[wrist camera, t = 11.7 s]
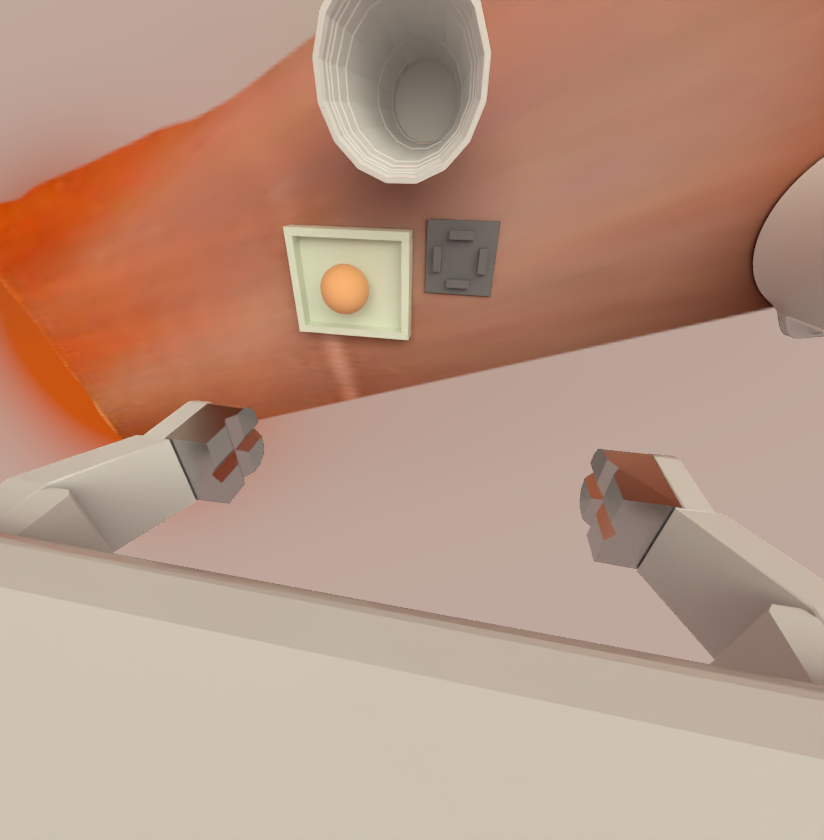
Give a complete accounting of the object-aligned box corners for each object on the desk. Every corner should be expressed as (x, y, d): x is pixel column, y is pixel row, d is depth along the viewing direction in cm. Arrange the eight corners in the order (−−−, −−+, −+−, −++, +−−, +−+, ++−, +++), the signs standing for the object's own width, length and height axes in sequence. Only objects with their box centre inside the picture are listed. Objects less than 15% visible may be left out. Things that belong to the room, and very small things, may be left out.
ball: (374, 261, 39) (357, 271, 35) (376, 308, 42) (360, 323, 37) (330, 257, 40) (308, 267, 36) (335, 304, 42) (315, 318, 38)
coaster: (500, 221, 35) (500, 222, 35) (490, 295, 39) (490, 298, 39) (428, 218, 36) (426, 220, 36) (425, 291, 40) (424, 293, 39)
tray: (412, 229, 37) (409, 232, 35) (411, 333, 43) (408, 340, 42) (291, 224, 39) (283, 226, 37) (306, 325, 45) (299, 331, 43)
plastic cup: (380, 192, 36) (339, 200, 26) (351, 39, 30) (283, -24, 20) (494, 167, 33) (496, 165, 23) (485, -6, 27) (483, -103, 18)
